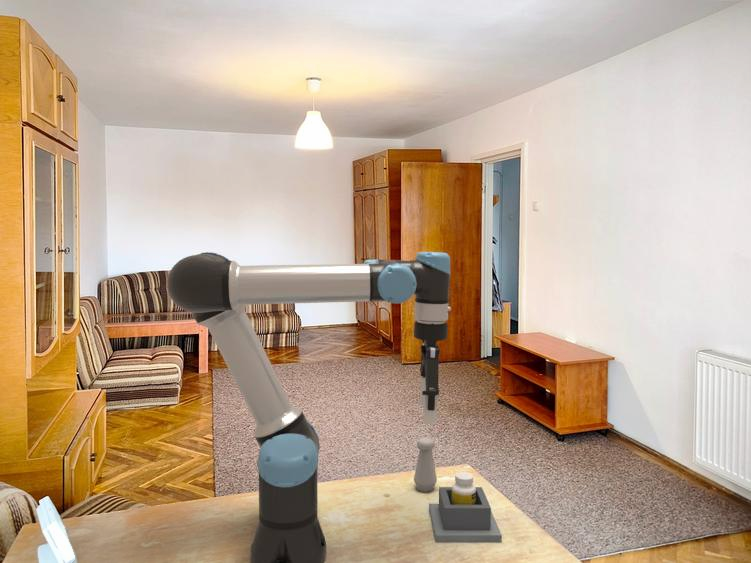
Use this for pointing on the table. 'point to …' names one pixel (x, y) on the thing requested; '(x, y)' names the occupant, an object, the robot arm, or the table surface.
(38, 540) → the table surface
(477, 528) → the socket board
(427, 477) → the salt shaker
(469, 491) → the supplement bottle
